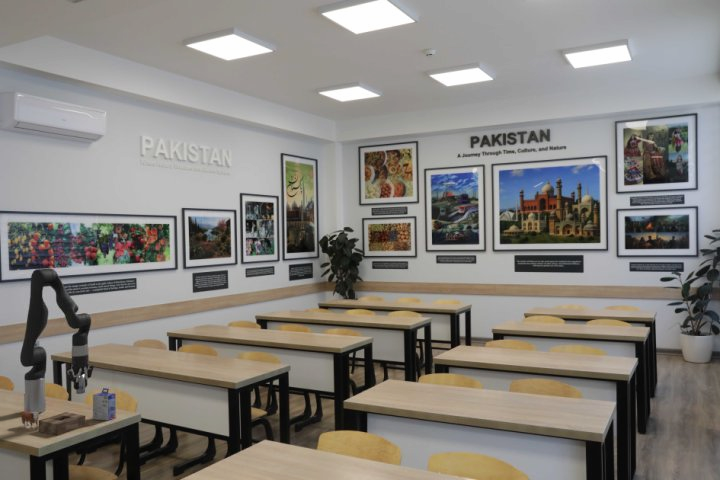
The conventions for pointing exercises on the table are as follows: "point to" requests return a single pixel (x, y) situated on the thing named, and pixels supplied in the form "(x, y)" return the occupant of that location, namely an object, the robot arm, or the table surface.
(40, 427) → the docking block
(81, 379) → the peg
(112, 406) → the ink cartridge box
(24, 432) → the table surface
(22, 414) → the bull figurine
